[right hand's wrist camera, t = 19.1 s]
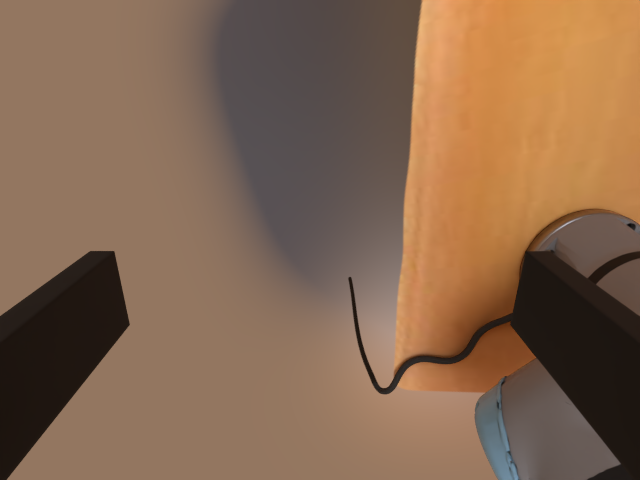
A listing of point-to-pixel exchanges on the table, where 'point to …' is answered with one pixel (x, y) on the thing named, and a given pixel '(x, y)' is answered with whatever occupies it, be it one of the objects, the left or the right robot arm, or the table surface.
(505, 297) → the table surface
